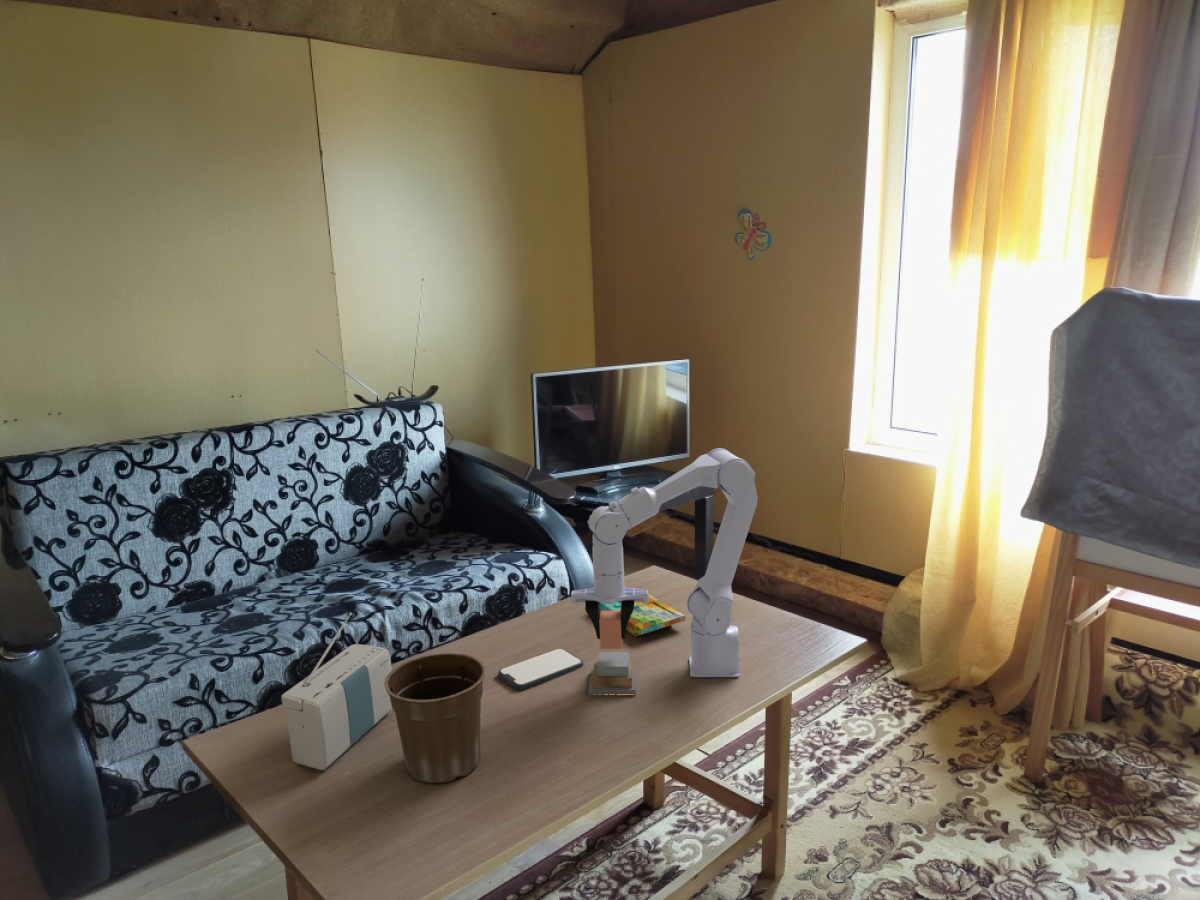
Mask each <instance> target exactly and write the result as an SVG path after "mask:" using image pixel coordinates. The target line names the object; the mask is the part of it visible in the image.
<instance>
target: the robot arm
mask: <svg viewBox="0 0 1200 900" xmlns="http://www.w3.org/2000/svg"><path fill="white" fill-rule="evenodd" d="M755 478H756V473H755V471H754V470H753V468H752V467H751V465H750V464H749V462H747V460H745V459H743V458H741V457H738V456H736V455H735V454H734V453H732V452H730V450H727V449H726V448H722V447H719V448H714V449H712V450H710V451H709V452H708V453H705V454H702V455H700V456H698V457H697V458H696V459H695V460H694V461H693V462H692V463H691V464H689V465H687V466H685V467H683V468H682V469H681V470H679V471H678V472H676V473H674V474H673V475H671V476H670V477H668V478H666V479H664V480H663V481H662V482H661V483H659V484H657V485H656V486H654V487H652V488H650V487H646V486H641V487H640V488H638V487H636V486H635V487H633V488H631V489H630V493H629V494H627V495H625V496H623V497H622V498H619V499H618V500H616V501H613V500H612V501H610V502H609V503H608V505H606V506H604V505H601V506H599V507H596V508H595V509H594V510H593V511H592V514H590V515H589V518H588V520H587V525H588V528H589V530H590V531H591V532H592V548H591V549H592V569H593V571H592V572H593V585H594V586H593V587H591V588H590V587H589V588H585V589H575V590H572V591H571V593H570V599H571V601H570V603H571V604H572V605H573V604H574V605H575V604H578V603H584V604H585V606H584V610H585V613H586V614H587V615H588V617H589V619H590V621H591V622H592V625H593V628H594V631H595V635H596V639H597V640H600V624H599V619H600V602H603V603H604V604H613V603H614V602H621V620H622V629H621V637H622V639H623V640H625V639H626V632H627V630H626V628H627V624H628V621H629V619H630V617H631V614H632V612H633V610H634V602H642V603H648V594H649V589H640V588H639V589H633V588H634V587H626V586H625V570H624V547H623V540H624V537H625V535H626V533H627V531H629V530H631V529H632V528H634V527H636V526H637V525H639V524H641V523H643V522H645V521H647V520H648V519H650V518H652V517H653V516H656V515H657V514H658V513H659V510H660V509H661V505H662V504H665V503H667V502H668V501H671V500H672V499H675V498H677V497H679V496H681V495H682V494H685V493H686V492H689V491H691V490H692V489H694V488H697V487H705V488H713V489H718V487H719V488H720V490H721V492H722V493H723V495H724V496H725V498H726V499H727V504H726V508H725V511H724V513H723V516H722V520H721V523H720V526H719V530H718V532H717V536H716V539H715V542H714V546H713V548H712V551H711V555H710V558H709V561H708V565H707V568H706V571H705V573H704V575H703V576H702V577H701V578H699V579H698V580H697V582H696V584H695V587H694V589H693V590H692V591H691V592H690V593H689V595H688V597H687V599H686V608H687V610H688V612H689V613H690V614H691V615H692V620H691V623H690V634H691V635H690V637H691V639H690V641H691V642H690V643H691V644H690V645H691V655H690V656H689V659H688V661H689V662H688V663H689V676H690V677H692V678H738V677H740V663H741V658H740V654H741V653H740V642H739V640H740V638H739V628H738V626H737V625H732V622H733V611H732V609H733V604H734V597H733V591H732V584H733V580H734V577H735V575H736V571H737V568H738V564H739V562H740V558H741V556H742V553H743V549H744V547H745V543H746V539H747V536H748V534H749V531H750V527H751V524H752V521H753V518H754V516H755V511H756V508H757V505H758V499H759V498H758V492H757V487H756V483H755Z"/></svg>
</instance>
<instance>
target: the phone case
mask: <svg viewBox="0 0 1200 900" xmlns="http://www.w3.org/2000/svg"><path fill="white" fill-rule="evenodd" d="M582 666H584V661H583V660H582V659H581V658H579V657H578V656H576V655H574V654H572V653H571V652H569V651H568V650H566V649H564V648H556V649H553V650H550V651H547V652H546V653H545V652H544V653H542V654H539V655H536V656H534V657H531V658H527V659H525V660H522V661H520V662H517V663H514V664H511V665H509V666H507V667H506V666H505V667H503V668H500V669H499V670H498V673H497V675H498V678H499V679H500V680H502V681H503V682H504V683H505V684H507V685H509V686H510V687H511V688H512V687H513V689H514V690H516V691H518V692H523V691H526V690H529V689H531V687H532V688H534V687H536V686H539V685H541V683H542V684H544V683H547V682H549V681H551V679H552V680H554V679H556V677H557V678H559V677H562V676H564V675H566V673H567V674H568V672H569V673H571V671H572V672H574V671H576V669H577V670H579V669H582V668H583V667H582ZM581 667H582V668H581ZM578 668H579V669H578ZM561 675H562V676H561ZM553 678H554V679H553ZM546 681H547V682H546Z"/></svg>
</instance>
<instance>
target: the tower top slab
mask: <svg viewBox="0 0 1200 900" xmlns="http://www.w3.org/2000/svg"><path fill="white" fill-rule="evenodd" d="M597 655H598V656H597V660H598V662H597V676H629V664H630V659H631V657H630V651H600V652H598V654H597Z"/></svg>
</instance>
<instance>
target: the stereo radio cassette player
mask: <svg viewBox="0 0 1200 900" xmlns="http://www.w3.org/2000/svg"><path fill="white" fill-rule="evenodd" d="M352 615H353V612H349V614H348V616H347V618H346V619H345V621H344V622H343V624H342V625H341V627H340V628H339V629H338V631H337V633H335V636H334V637H333V639H332V640H331V642H330V643H329V644H328V646H327V648H326V649H325V651H324V652H323V654H322V656H321V657H320V659H319V661H318V662H317V663H316V665H315V666H314V668H313V670H312V671H311V673H310V674H309V675H307V676H306V677H305V678H303V679H302V680H301V681H299V682H297V684H295V685H293V687H291V688H289V689H288V690H287V691H285V692H284V693H283V694H281V698H280V699H281V703H282V706H283V708H285V714H286V721H287V728H288V730H287V731H288V736H289V743H290V749H291V755H292V761H293V762H295V763H296V764H298V765H301V766H305V767H308V768H312V769H316V770H319V771H325V770H326V769H327V768H328V767H330V766H331V764H333V763H334V762H335V761H336V760H337V759H338V758H339V757H341V756H342V755H343V754H344V753H345V752H346V751H347V750H348V749H350V747H352V746H353V745H354V744H355V743H356V742H357V741H359V739H360V738H361V739H362V737H363V736H364V735H365V734H366V733H367V732H368V731H370V730H371V729H372V728H373V727H374V726H375V725H376V724H377V723H378V722H380V721H381V720H382V719H383V718H384V717H385V716H386V715H388V714H389V713H390V711H392V710H393V708H392V705H391V701H390V696H389V694H388V693H387V691H386V689H385V685H384V682H385V679H386V677H387V675H388V674H389V673H390V672H391V671H392V670H393V668H392V662H391V655H390V652H389V649H387V648H386V647H381V646H373V645H371V644H360V643H359V644H358V643H355V644H351V645H349V646H348V647H346V648H345V649H343V650H342V651H341V652H340V653H338V654H337V655H336V656H334V657H333V658H330V660H328V661H327V662H326V663H324V664H323V665H321V664H322V662H323V660H324V659H325V658H326V656H327V655H328V653H329V651H330V650H331V648H332V646H333V645H334V644H335V641H336V640H337V638H338V636H339V635H340V633H341V631H342V630H343V628H344V627H345V625H346V623H347V622H348V621H349V618H350V617H351V616H352ZM320 665H321V666H320Z"/></svg>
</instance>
